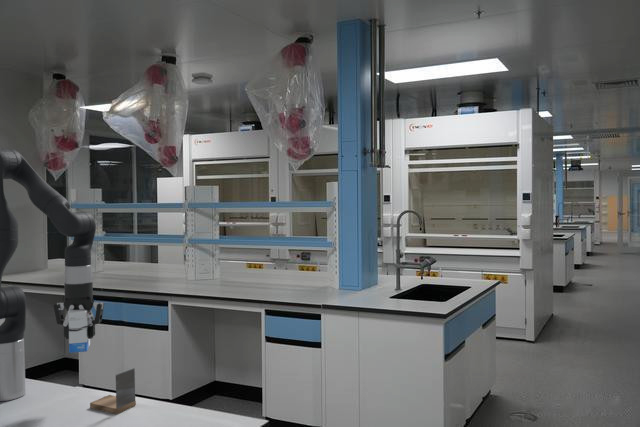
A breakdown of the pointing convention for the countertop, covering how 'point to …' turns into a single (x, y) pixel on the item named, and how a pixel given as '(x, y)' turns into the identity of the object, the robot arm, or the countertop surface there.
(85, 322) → the ink box
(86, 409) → the countertop surface
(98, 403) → the wooden base bookend
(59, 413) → the countertop surface
